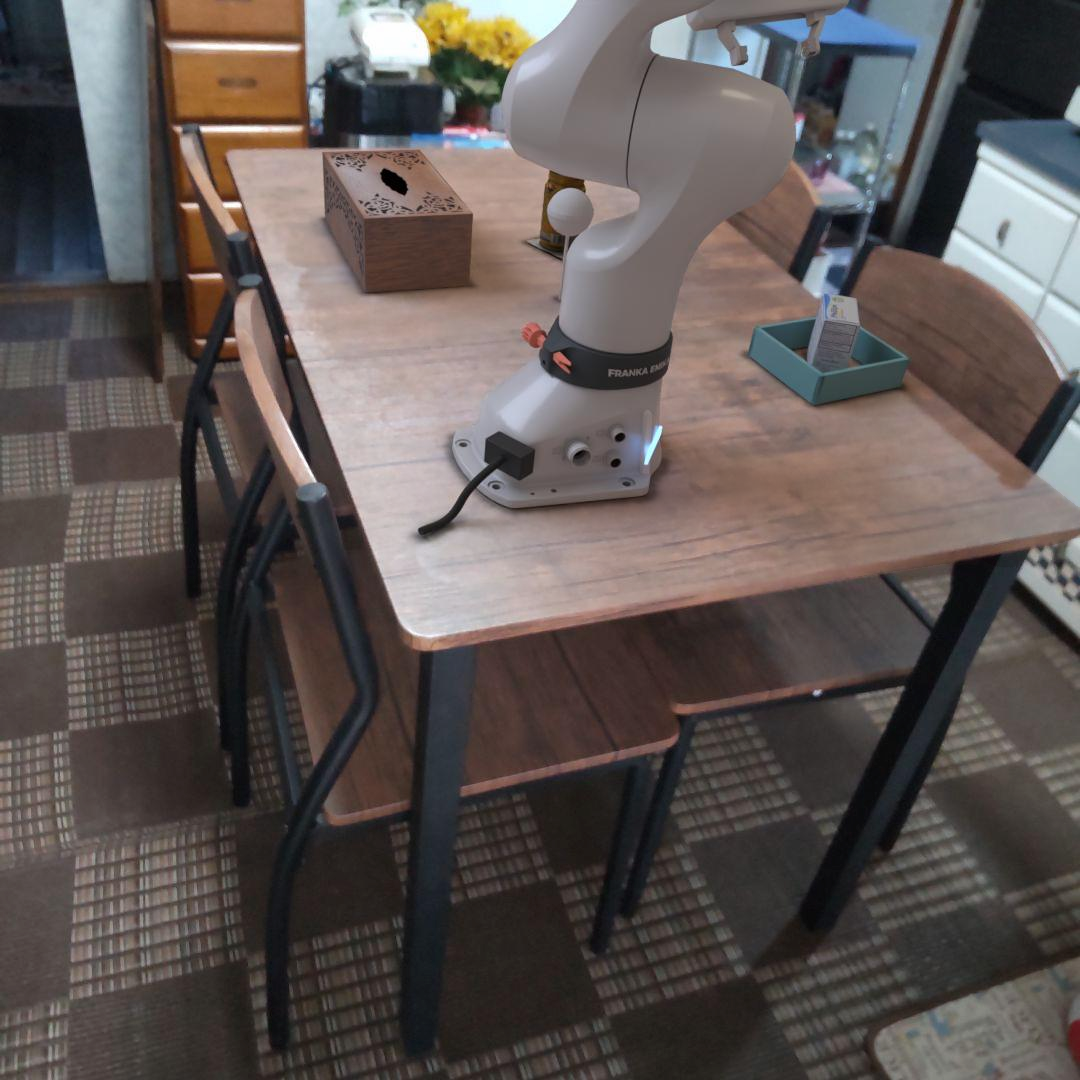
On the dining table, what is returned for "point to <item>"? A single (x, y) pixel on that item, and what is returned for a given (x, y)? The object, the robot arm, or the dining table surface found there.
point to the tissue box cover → (397, 220)
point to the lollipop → (569, 217)
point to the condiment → (548, 235)
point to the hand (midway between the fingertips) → (776, 59)
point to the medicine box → (834, 333)
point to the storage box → (816, 387)
